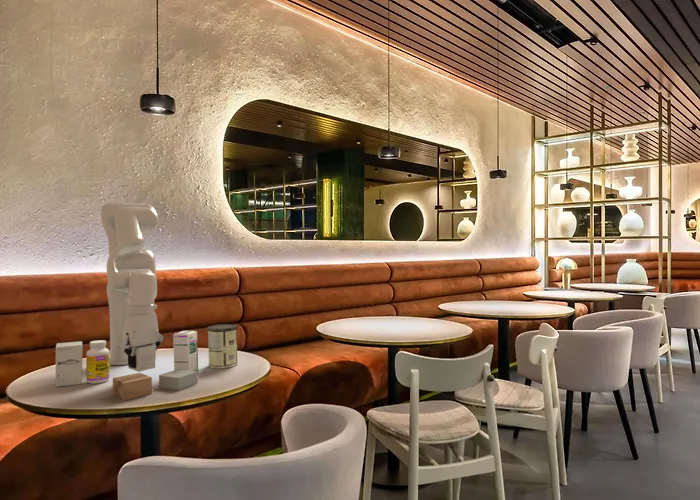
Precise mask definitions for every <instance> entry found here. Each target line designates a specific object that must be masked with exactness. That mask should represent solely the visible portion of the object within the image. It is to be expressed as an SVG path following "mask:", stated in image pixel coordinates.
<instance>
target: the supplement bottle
mask: <svg viewBox="0 0 700 500" xmlns="http://www.w3.org/2000/svg"><path fill="white" fill-rule="evenodd" d="M106 345H107V340H104V339H103V340H101V339H100V340H99V339H98V340H91V341H90V342H89V347H90V349H89V350H87V351H86V359H85V360H86V365H85V367H86V371H85V372H86V382H87V383H88V384H102V383H103V384H104V383H106V382H108V381H109V380H110V377H111V376H110V374H111V373H110V367H111V365H110V363H109V358H110V354H109V351H110V349H109V348H107V347H106Z"/></svg>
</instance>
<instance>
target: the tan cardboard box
mask: <svg viewBox="0 0 700 500" xmlns="http://www.w3.org/2000/svg"><path fill="white" fill-rule="evenodd" d="M152 394H153V379H152V377H151V376H150V375H146V374H145V373H142V372H136V373H132V374H127V375H121V376H116V377H112V395H113V396H116V397H117V398H119V399H121V400H123V401H126V400H130V399H135V398H139V397H144V396H148V395H152Z"/></svg>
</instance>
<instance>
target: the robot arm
mask: <svg viewBox="0 0 700 500" xmlns="http://www.w3.org/2000/svg"><path fill="white" fill-rule="evenodd" d="M100 221H101V224H102V227H103V229H104V231H105V232H104V233H106V237H107V240H108V258H107V260H106V261H107V262H106V276H107V284H106V294H107V295H106V296H107V300H108V309H109V345H110V346H109V363H110V366H126V365H127V366H128V365H129V367H131V368H136V356H135V355H134V354H135V351H136V348H137V347H138V346H143V345H148V344H150V345H153V346H156V351H158V348H159V346H160V345H161V343H162V342H163V340H164V339H165V337H164V336H163V335H162V334H161V333H160V332H159V331H160V330H159V322H158V316H157V313H156V312H155V309H158V305H157V304H155V299H156V298H157V296H158V281H157V265H156V258H155V255H154V253H153V252H152V250H150V249H146V248H145V249H144V247H145V244H146V243H145V237H144V233H143V232H144V231H155V230H156V229H157V228H158V226H159V215H158V213H157V211H156V208H154V207H153V206H152V205H151V204H149V203H145V202H129V201H128V202H127V201H126V202H124V201H114V202H113V201H111V202H106V203H104V204H103V205H102V206H101V208H100ZM156 358H157V357H156V352H155V360H156Z"/></svg>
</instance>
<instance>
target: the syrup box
mask: <svg viewBox="0 0 700 500" xmlns="http://www.w3.org/2000/svg"><path fill="white" fill-rule="evenodd" d="M172 336H173V337H172V338H173V340H172V341H173V371H174V370H177V369H182V370H189V371H197V372H198V373H199V356H198V355H199V354H198V353H199V352H198V351H199V350H198V348H199V347H198V331H197V330H182V331H179V332H175V333H174V334H173V335H172Z"/></svg>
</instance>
